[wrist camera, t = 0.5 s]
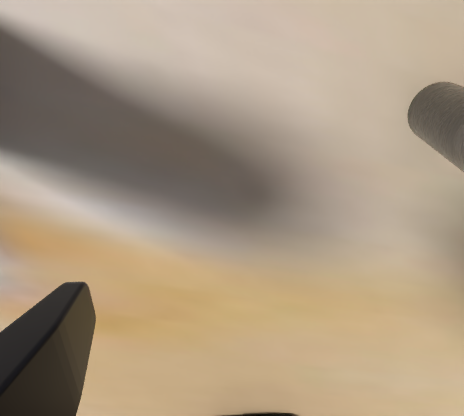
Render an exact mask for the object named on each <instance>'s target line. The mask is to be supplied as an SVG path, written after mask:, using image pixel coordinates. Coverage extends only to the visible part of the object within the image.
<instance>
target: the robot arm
mask: <svg viewBox="0 0 464 416" xmlns="http://www.w3.org/2000/svg"><path fill="white" fill-rule="evenodd" d="M95 321H96V316H95V310H94V306H93V302H92V298H91V294H90V290H89V287H88V285H87V284H86V283H85V282H66V283H63V284H62V285H60V286H59V287H58V288H57V289H55V290H54V291H53V292H51V293H50V294H49V295H48V296H46V297H45V298H44V299H42V300H41V301H40V302H39V303H37V304H36V305H35V306H33V307H32V308H31V309H30V310H28V311H27V312H26V313H24V314H23V315H22V316H21V317H19V318H18V319H17V320H15V321H14V322H13V323H12V324H10V325H9V326H8V327H6V328H5V329H4V330H3V331H1V332H0V416H76V413H77V410H78V406H79V402H80V399H81V395H82V390H83V385H84V380H85V375H86V370H87V365H88V359H89V354H90V349H91V344H92V339H93V334H94V328H95ZM263 416H291V415H263Z"/></svg>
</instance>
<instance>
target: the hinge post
mask: <svg viewBox="0 0 464 416" xmlns="http://www.w3.org/2000/svg"><path fill="white" fill-rule="evenodd" d="M408 123H409V126H410V128H411V130H412V131H413V132H414V134H416V135H417V136H418V137H419V138H421V139H422V140H423V141H425V142H426V143H427V144H428V145H430V146H431V147H432V148H434V149H435V150H436V151H437V152H439V153H440V154H441V155H443V156H444V157H445V158H446V159H448V160H449V161H450V162H452V163H453V164H454V165H456V166H457V167H458V168H459V169H461V170H462V171H463V172H464V87H461V86H459V85H456V84H453V83H450V82H438V83H434V84H431V85H429V86H427V87H425V88H424V89H423V90H421V91H420V92H419V93H418V94H417V95H416V96H415V98H414V99H413V101H412V102H411V105H410V107H409V110H408Z"/></svg>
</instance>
